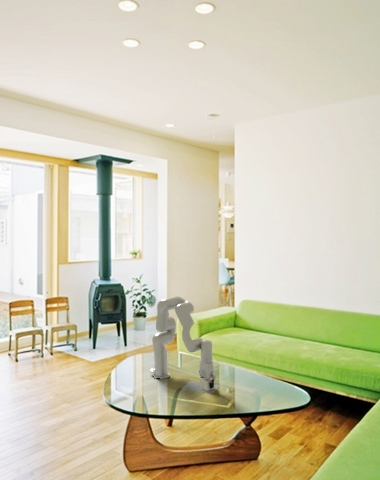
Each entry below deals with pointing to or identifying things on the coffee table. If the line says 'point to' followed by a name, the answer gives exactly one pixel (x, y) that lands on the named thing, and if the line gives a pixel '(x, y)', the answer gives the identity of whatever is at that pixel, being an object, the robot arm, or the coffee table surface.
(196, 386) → the board
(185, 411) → the coffee table surface
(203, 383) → the white knobbed cube
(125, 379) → the coffee table surface
